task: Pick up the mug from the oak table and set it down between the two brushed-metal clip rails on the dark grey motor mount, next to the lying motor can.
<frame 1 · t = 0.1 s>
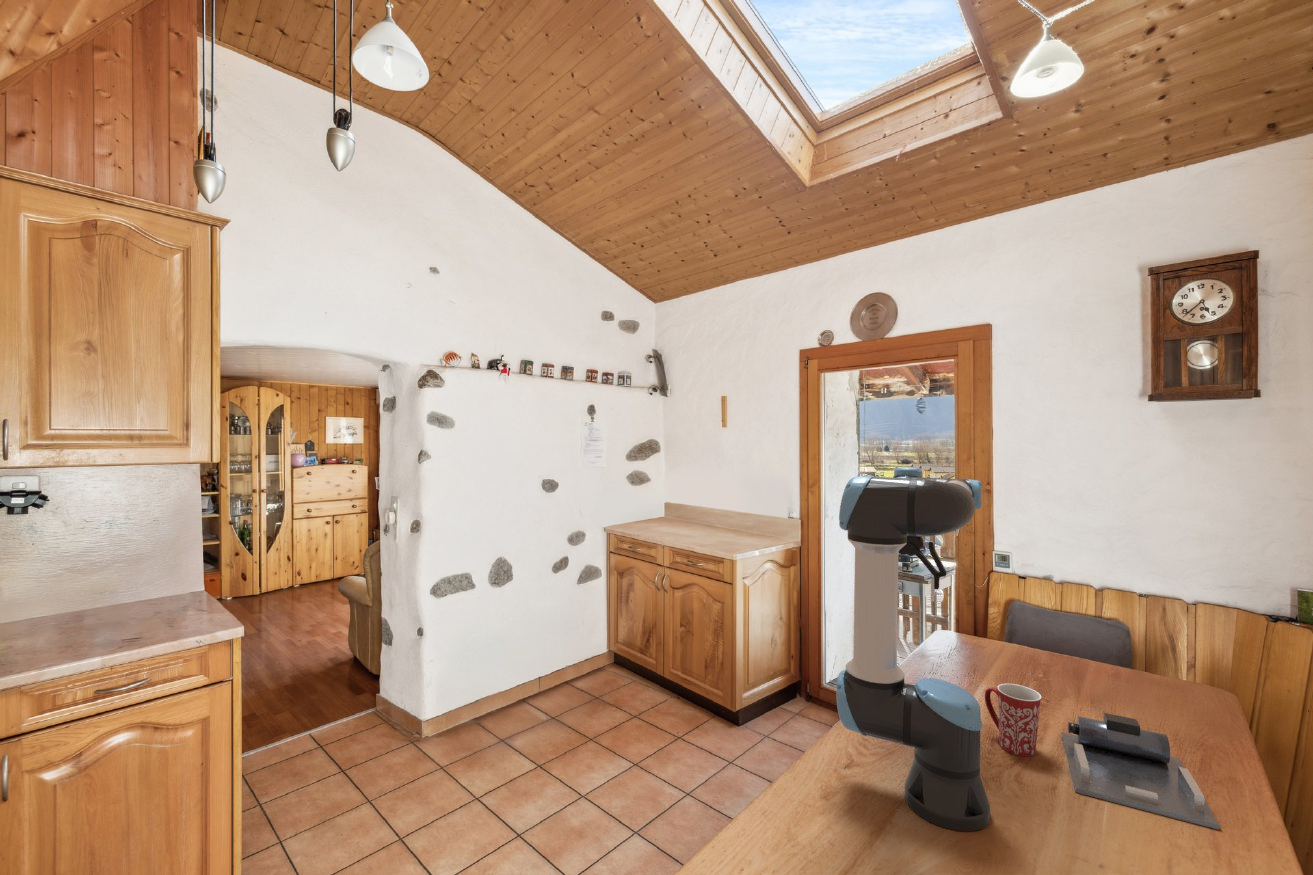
hand: (906, 596, 163), 28 cm above the table, fingers open, 13 cm apart
mug: (1010, 745, 138), on the table
motor mount: (1129, 776, 125), on the table
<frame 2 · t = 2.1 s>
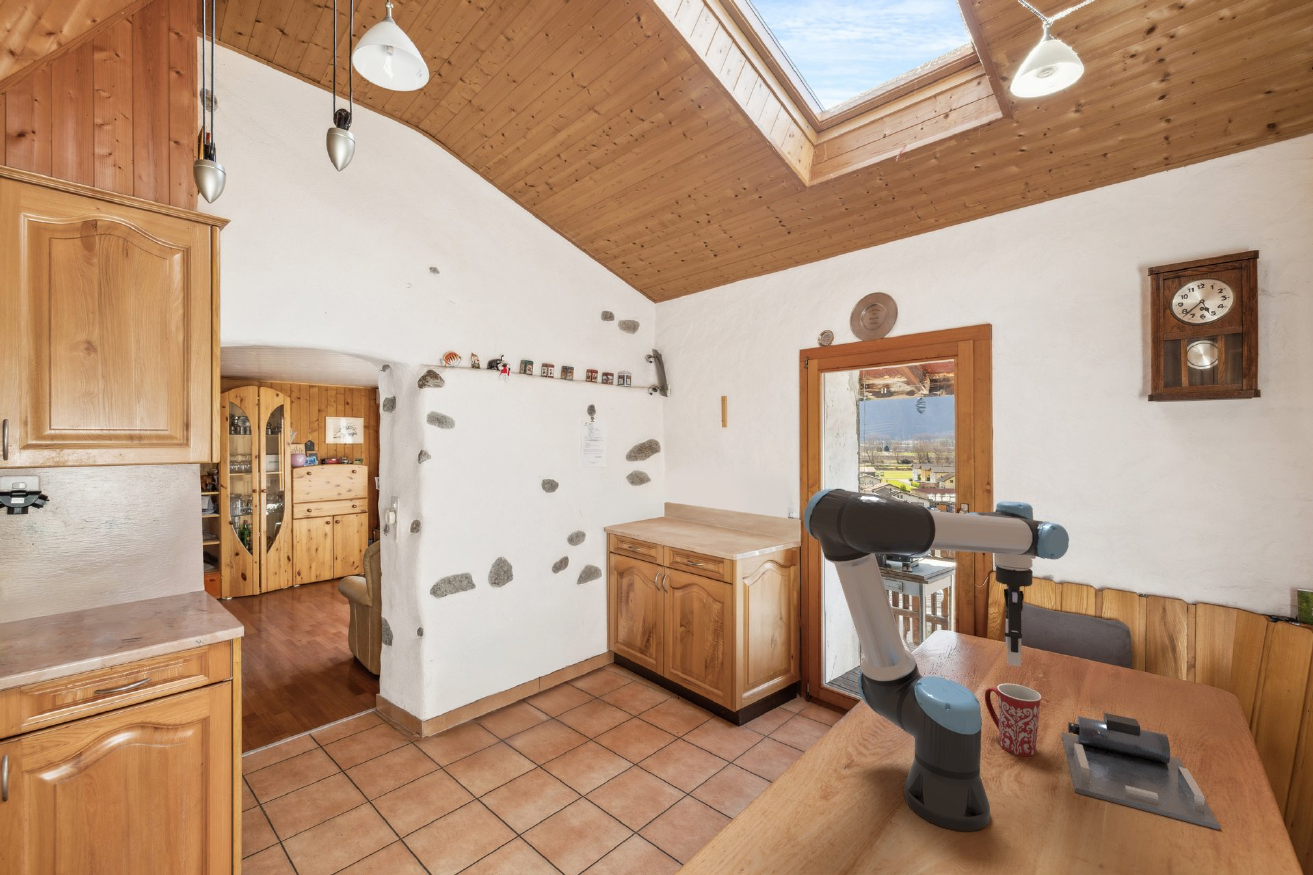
hand: (1012, 655, 138), 21 cm above the table, fingers open, 13 cm apart
nothing on the table moved.
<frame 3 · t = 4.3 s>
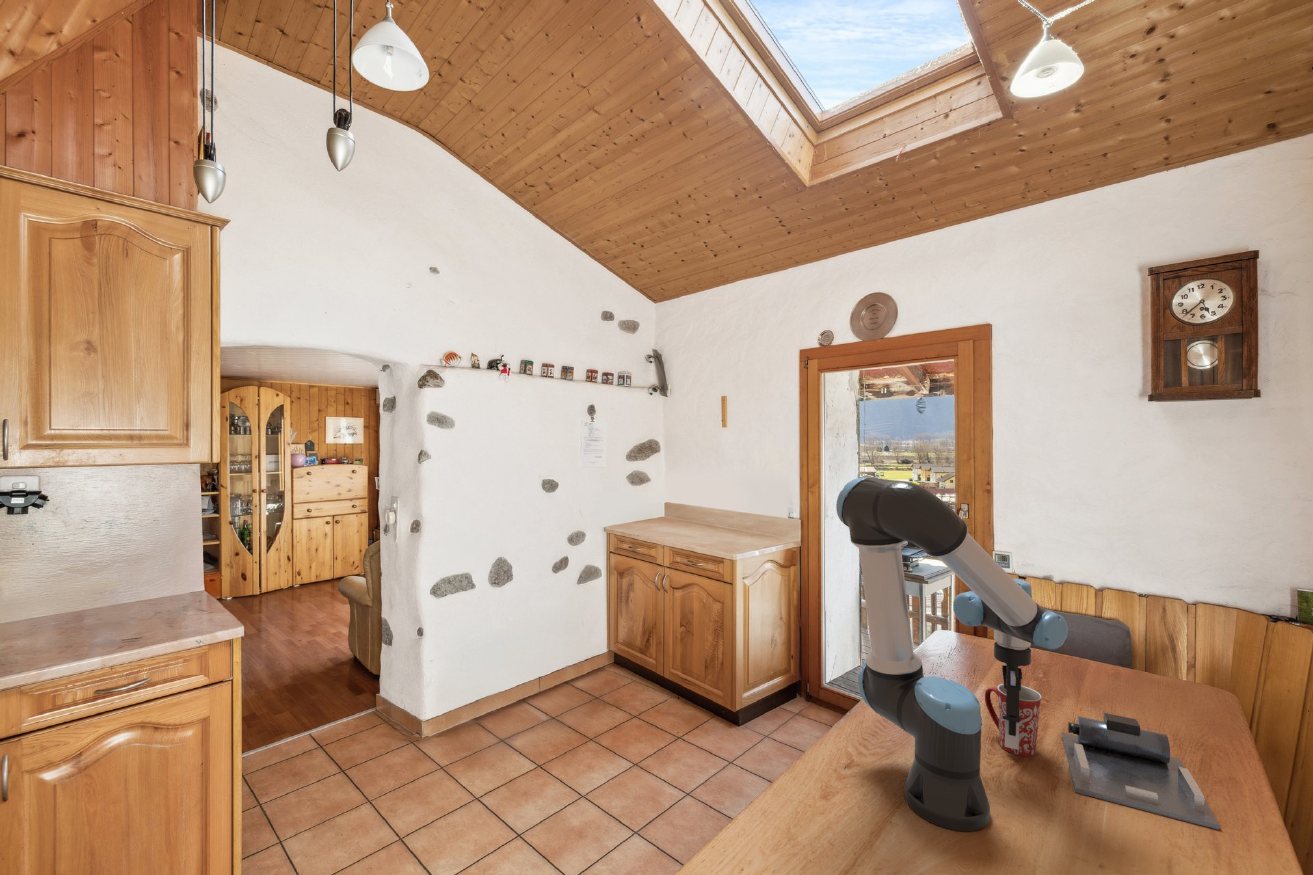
hand: (1010, 736, 138), 2 cm above the table, fingers open, 10 cm apart
mug: (1010, 745, 138), on the table, touching gripper
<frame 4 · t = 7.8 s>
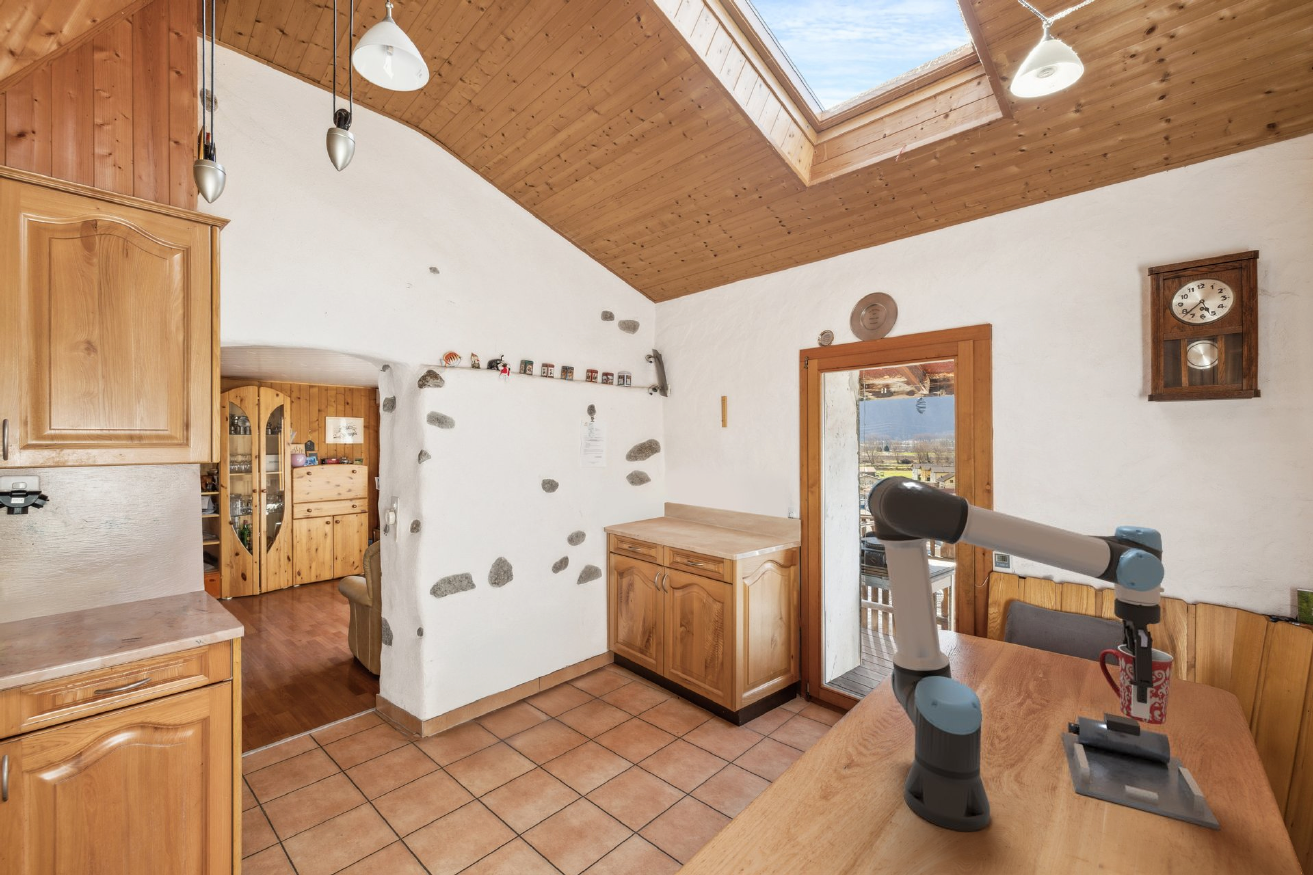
hand: (1135, 707, 121), 17 cm above the table, fingers closed on mug, 8 cm apart
mug: (1133, 713, 122), point 15 cm above the table, touching gripper
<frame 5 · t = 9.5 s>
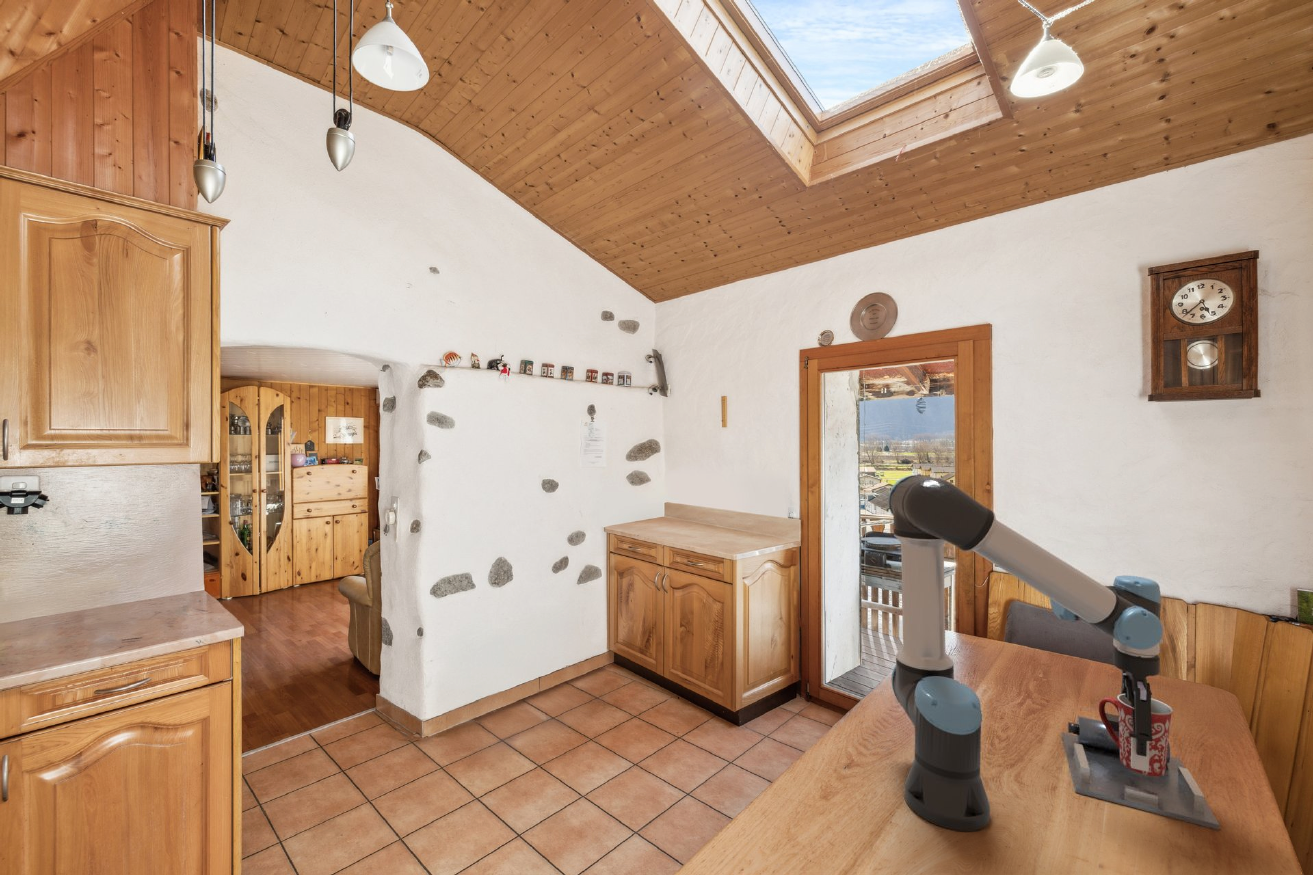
hand: (1134, 757, 121), 6 cm above the table, fingers closed on mug, 8 cm apart
mug: (1133, 763, 122), point 4 cm above the table, touching gripper
when the fingers open (4 cm above the table, at t = 10.8 s): mug drops 2 cm, resting on motor mount.
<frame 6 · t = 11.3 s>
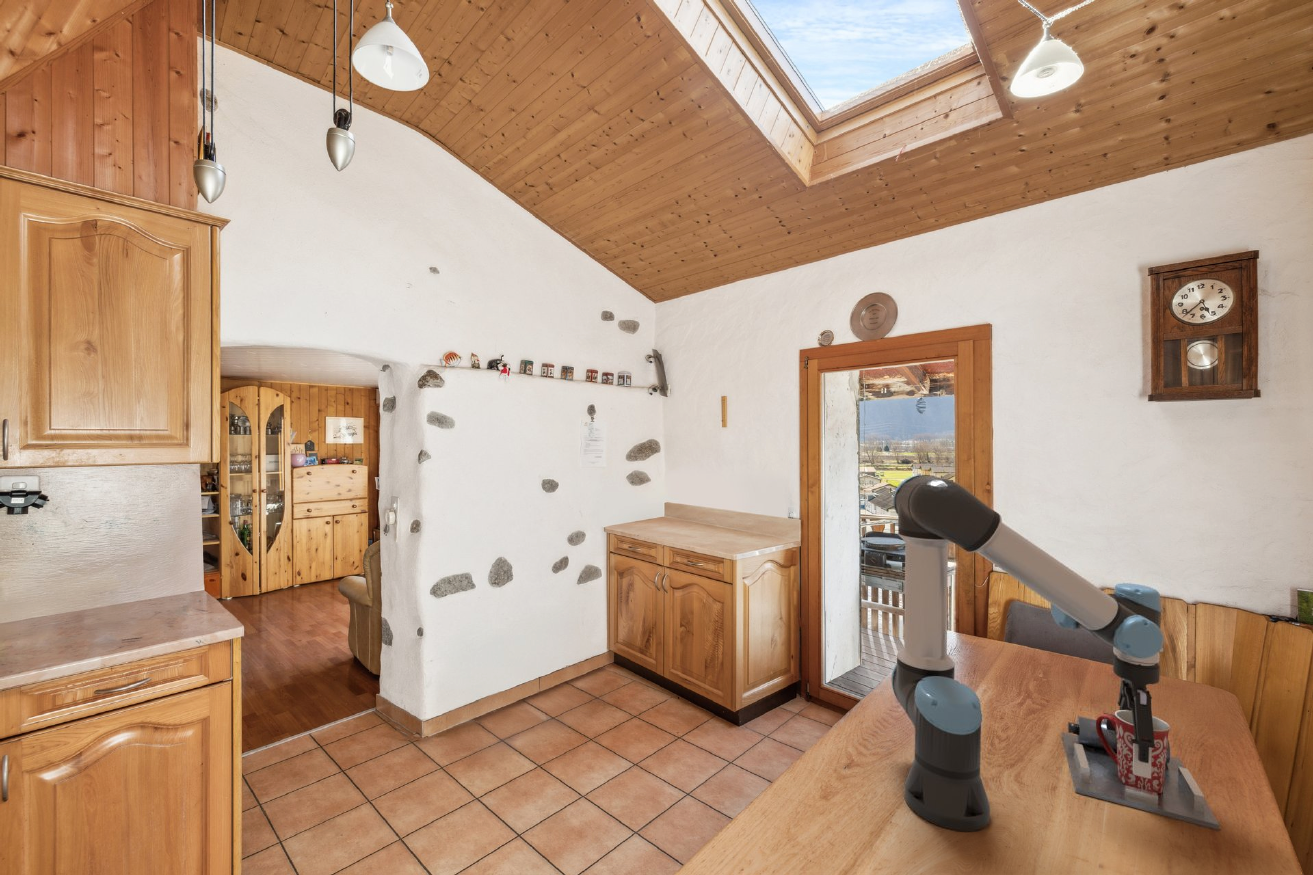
hand: (1134, 759, 121), 6 cm above the table, fingers open, 13 cm apart
mug: (1130, 780, 122), point 1 cm above the table, touching motor mount
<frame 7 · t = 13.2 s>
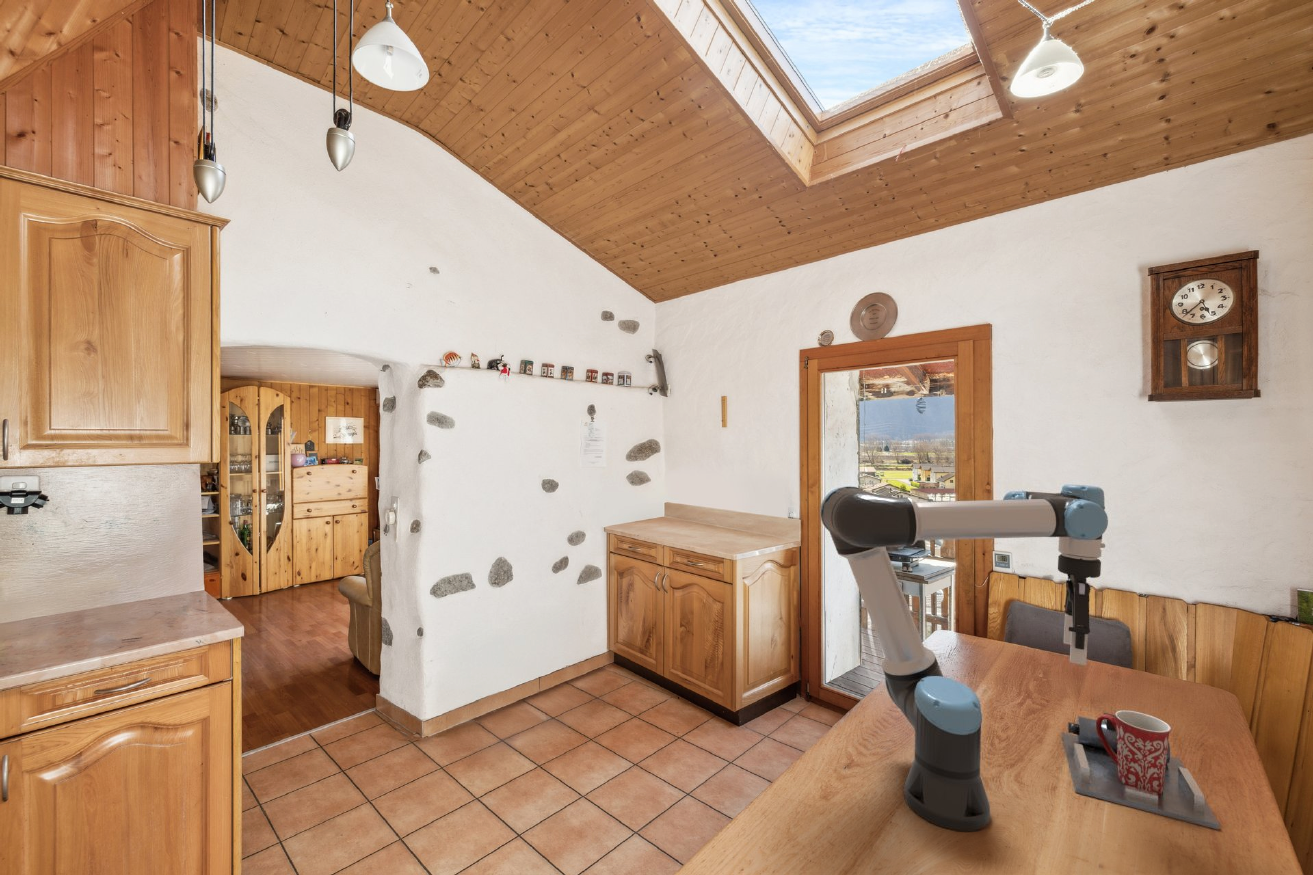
hand: (1074, 653, 125), 27 cm above the table, fingers open, 13 cm apart
nothing on the table moved.
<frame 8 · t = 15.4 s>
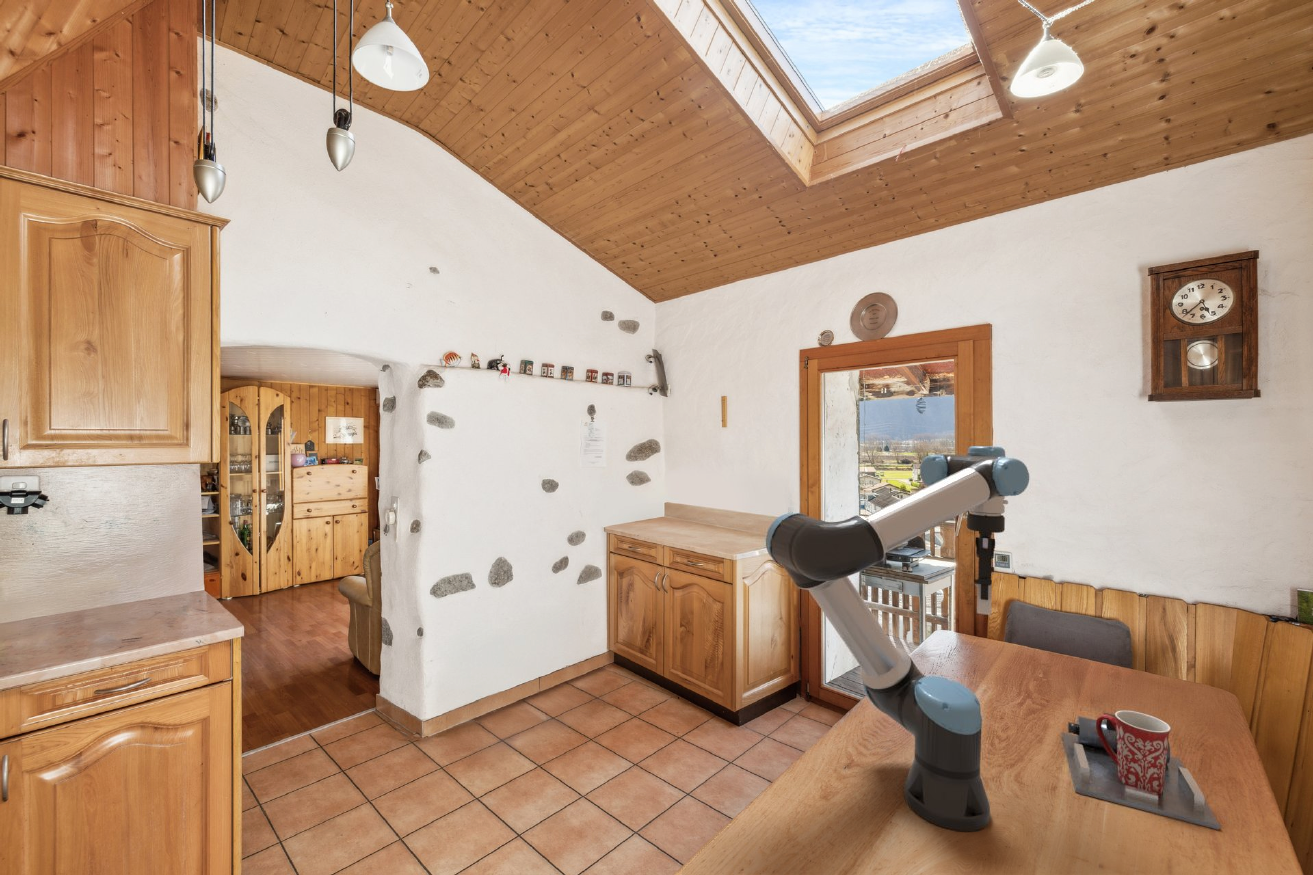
hand: (984, 606, 132), 35 cm above the table, fingers open, 13 cm apart
nothing on the table moved.
at the end: mug inside the target area on the motor mount (0.7 cm from its centre), point 0.8 cm above the motor mount's base; mug tilted 0°; the gripper is holding nothing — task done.
